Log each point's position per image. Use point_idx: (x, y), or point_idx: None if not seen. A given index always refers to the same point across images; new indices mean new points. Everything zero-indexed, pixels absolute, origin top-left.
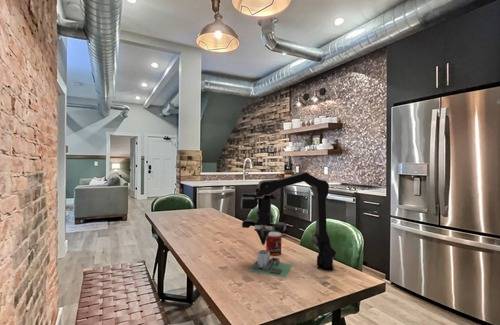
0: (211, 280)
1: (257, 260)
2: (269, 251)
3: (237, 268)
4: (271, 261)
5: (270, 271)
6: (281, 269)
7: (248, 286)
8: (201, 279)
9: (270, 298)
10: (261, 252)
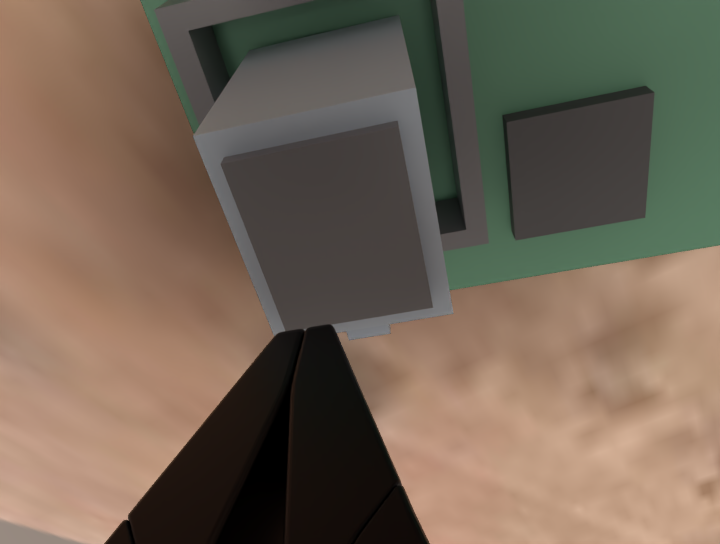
0: (131, 509)
1: (202, 109)
2: (416, 94)
3: (70, 250)
4: (436, 2)
5: (517, 238)
6: (648, 96)
7: (420, 466)
8: (66, 525)
9: (633, 511)
10: (326, 306)
